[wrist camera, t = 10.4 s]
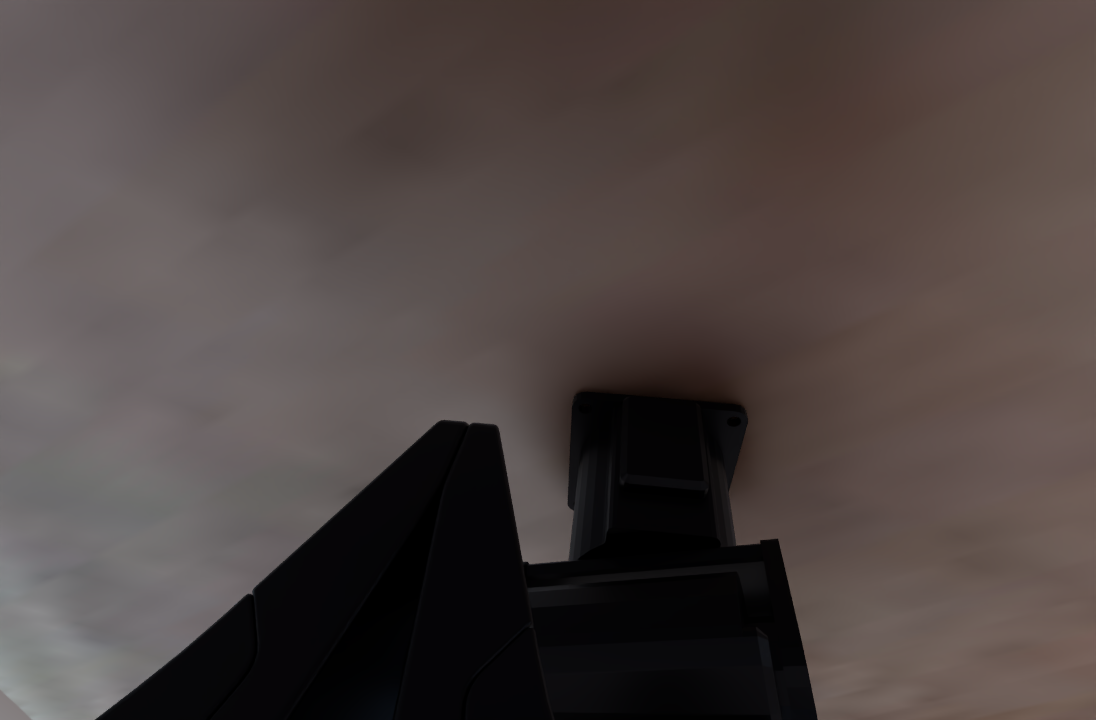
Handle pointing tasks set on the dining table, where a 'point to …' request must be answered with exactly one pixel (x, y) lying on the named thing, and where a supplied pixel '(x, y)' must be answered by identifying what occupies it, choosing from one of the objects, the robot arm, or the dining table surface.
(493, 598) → the robot arm
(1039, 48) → the dining table surface
